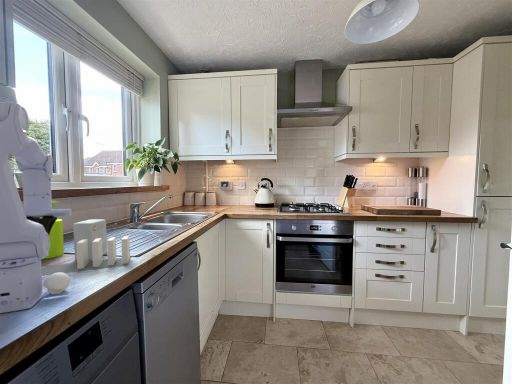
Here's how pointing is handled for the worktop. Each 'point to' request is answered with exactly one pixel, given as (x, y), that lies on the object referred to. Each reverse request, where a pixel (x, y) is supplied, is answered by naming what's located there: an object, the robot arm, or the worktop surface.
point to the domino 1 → (82, 253)
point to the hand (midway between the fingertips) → (40, 242)
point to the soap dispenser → (56, 238)
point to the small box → (90, 234)
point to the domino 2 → (97, 252)
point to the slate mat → (73, 268)
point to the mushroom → (56, 283)
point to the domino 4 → (125, 250)
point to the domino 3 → (111, 250)
